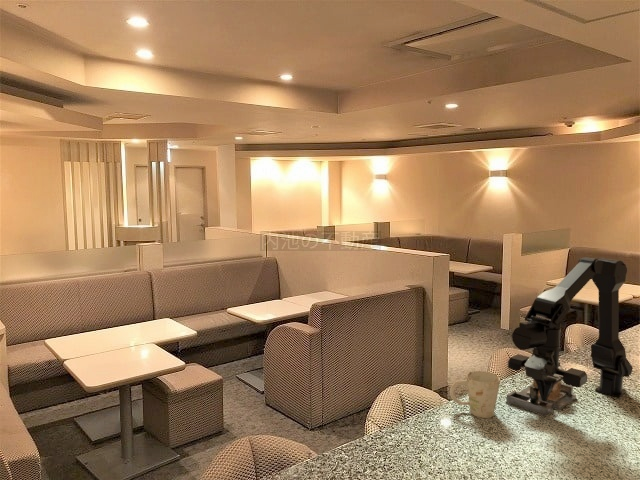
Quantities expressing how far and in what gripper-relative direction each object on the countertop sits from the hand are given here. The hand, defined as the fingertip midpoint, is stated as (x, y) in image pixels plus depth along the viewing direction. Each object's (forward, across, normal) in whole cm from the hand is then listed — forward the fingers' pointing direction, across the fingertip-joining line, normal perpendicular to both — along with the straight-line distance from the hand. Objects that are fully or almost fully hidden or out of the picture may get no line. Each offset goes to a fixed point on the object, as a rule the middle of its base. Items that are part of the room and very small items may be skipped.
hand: (544, 400), depth 133 cm
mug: (+3, -13, -14) cm, 19 cm away
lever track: (+3, -4, 0) cm, 5 cm away
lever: (+2, -3, 0) cm, 4 cm away
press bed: (+3, -3, +10) cm, 11 cm away
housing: (+2, -3, +10) cm, 11 cm away
